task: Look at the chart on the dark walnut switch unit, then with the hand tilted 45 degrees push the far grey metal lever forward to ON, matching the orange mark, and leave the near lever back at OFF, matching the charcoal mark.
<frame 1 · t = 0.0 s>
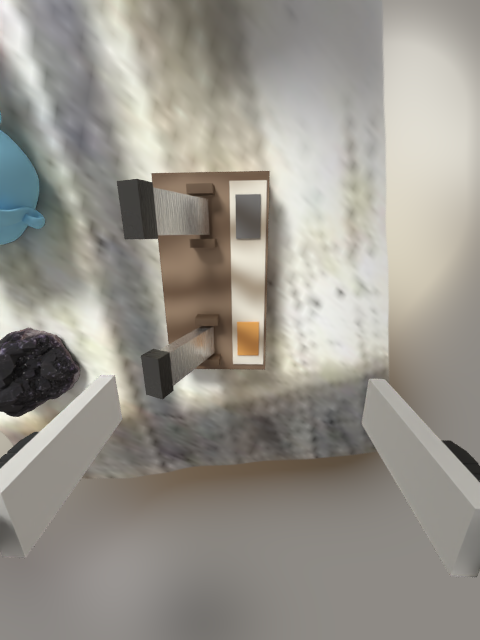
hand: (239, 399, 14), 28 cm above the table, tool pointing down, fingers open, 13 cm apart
switch unit: (218, 276, 40), on the table
black rock: (45, 362, 46), on the table
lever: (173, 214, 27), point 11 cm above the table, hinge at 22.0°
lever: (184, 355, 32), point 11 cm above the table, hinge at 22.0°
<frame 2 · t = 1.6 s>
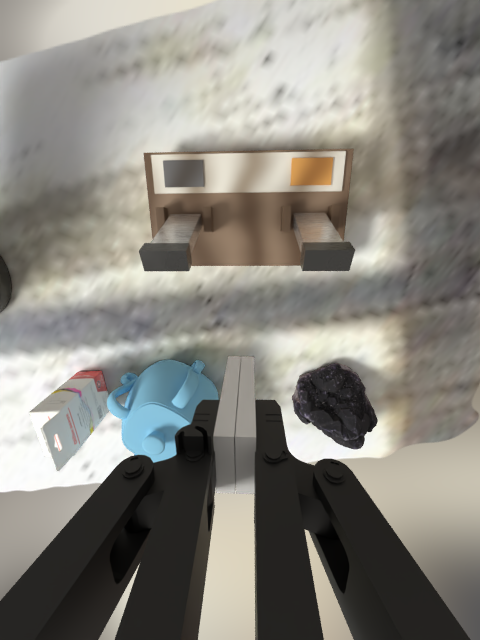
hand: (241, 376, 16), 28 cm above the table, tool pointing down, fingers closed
switch unit: (247, 214, 40), on the table
ink cartridge box: (95, 389, 51), on the table
black rock: (327, 392, 49), on the table
decorative pot: (178, 391, 50), on the table
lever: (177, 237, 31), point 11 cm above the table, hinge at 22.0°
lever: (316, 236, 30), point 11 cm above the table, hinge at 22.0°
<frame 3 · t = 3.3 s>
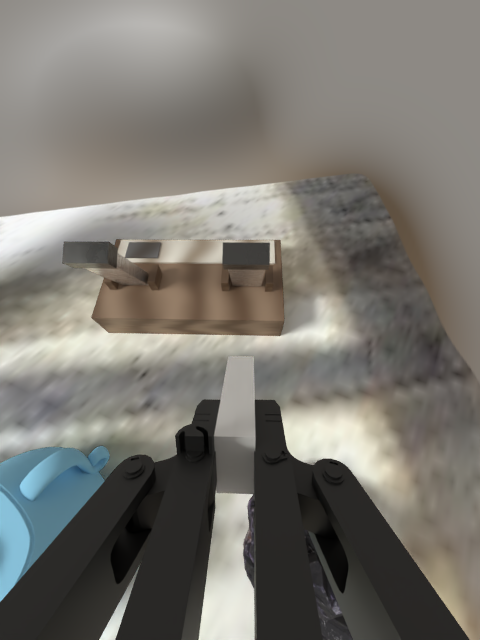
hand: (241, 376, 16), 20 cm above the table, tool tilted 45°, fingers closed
switch unit: (198, 294, 43), on the table
black rock: (304, 535, 29), on the table
decorative pot: (55, 528, 30), on the table
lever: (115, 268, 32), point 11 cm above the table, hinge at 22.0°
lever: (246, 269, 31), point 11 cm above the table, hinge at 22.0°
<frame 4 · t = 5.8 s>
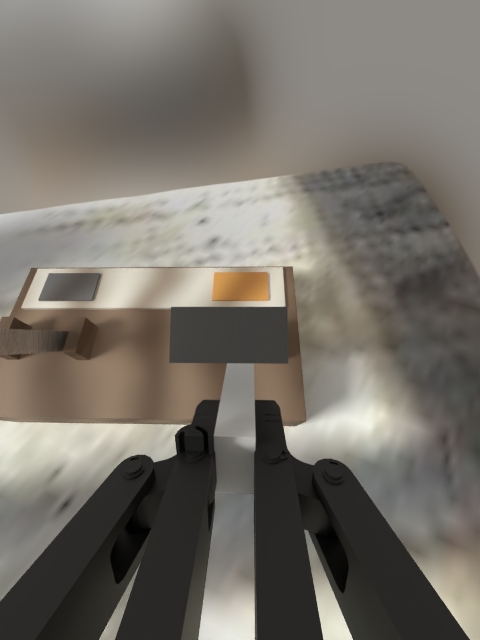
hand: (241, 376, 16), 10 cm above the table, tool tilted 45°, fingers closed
switch unit: (164, 351, 27), on the table
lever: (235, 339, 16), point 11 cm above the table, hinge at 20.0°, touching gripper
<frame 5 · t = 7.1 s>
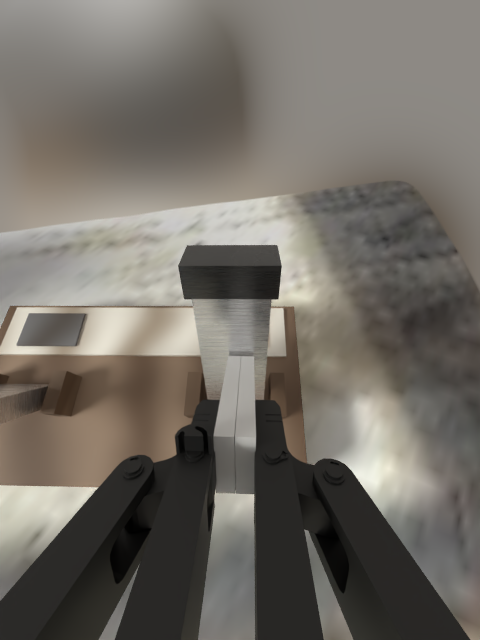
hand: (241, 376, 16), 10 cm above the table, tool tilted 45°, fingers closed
switch unit: (155, 394, 25), on the table
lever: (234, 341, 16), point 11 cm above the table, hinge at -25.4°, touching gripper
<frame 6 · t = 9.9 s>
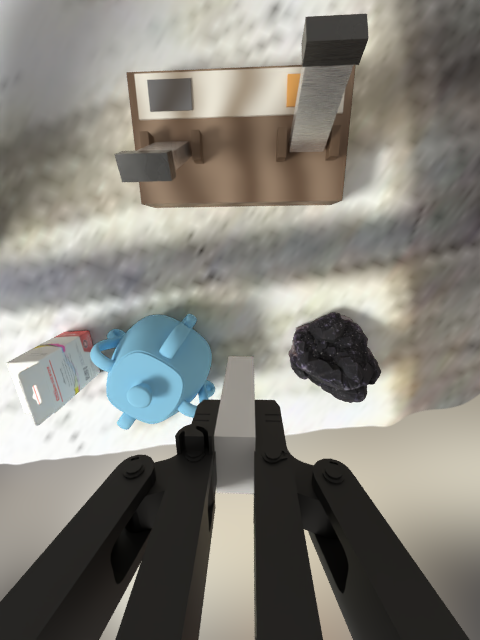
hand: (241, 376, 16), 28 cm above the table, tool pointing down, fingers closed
switch unit: (241, 151, 37), on the table
ink cartridge box: (83, 352, 48), on the table
black rock: (326, 347, 45), on the table
decorative pot: (170, 353, 47), on the table
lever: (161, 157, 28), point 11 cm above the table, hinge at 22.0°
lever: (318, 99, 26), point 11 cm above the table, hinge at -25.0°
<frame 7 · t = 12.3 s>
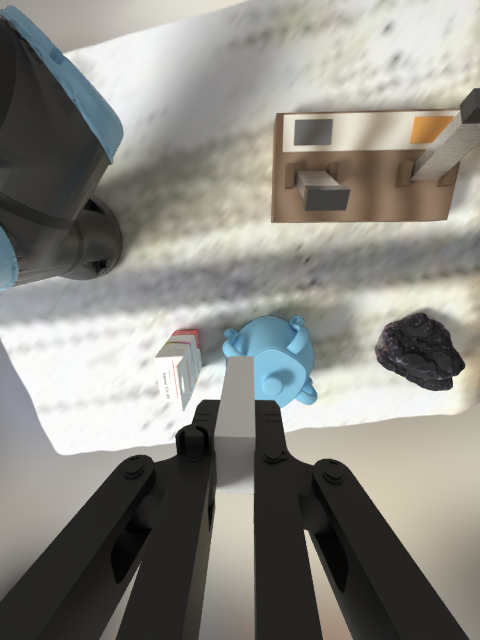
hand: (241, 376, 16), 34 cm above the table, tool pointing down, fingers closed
switch unit: (352, 176, 43), on the table
ink cartridge box: (188, 349, 54), on the table
black rock: (407, 343, 52), on the table
decorative pot: (267, 349, 53), on the table
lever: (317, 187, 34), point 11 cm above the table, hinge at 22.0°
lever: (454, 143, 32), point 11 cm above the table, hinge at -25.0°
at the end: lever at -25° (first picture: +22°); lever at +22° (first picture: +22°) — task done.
